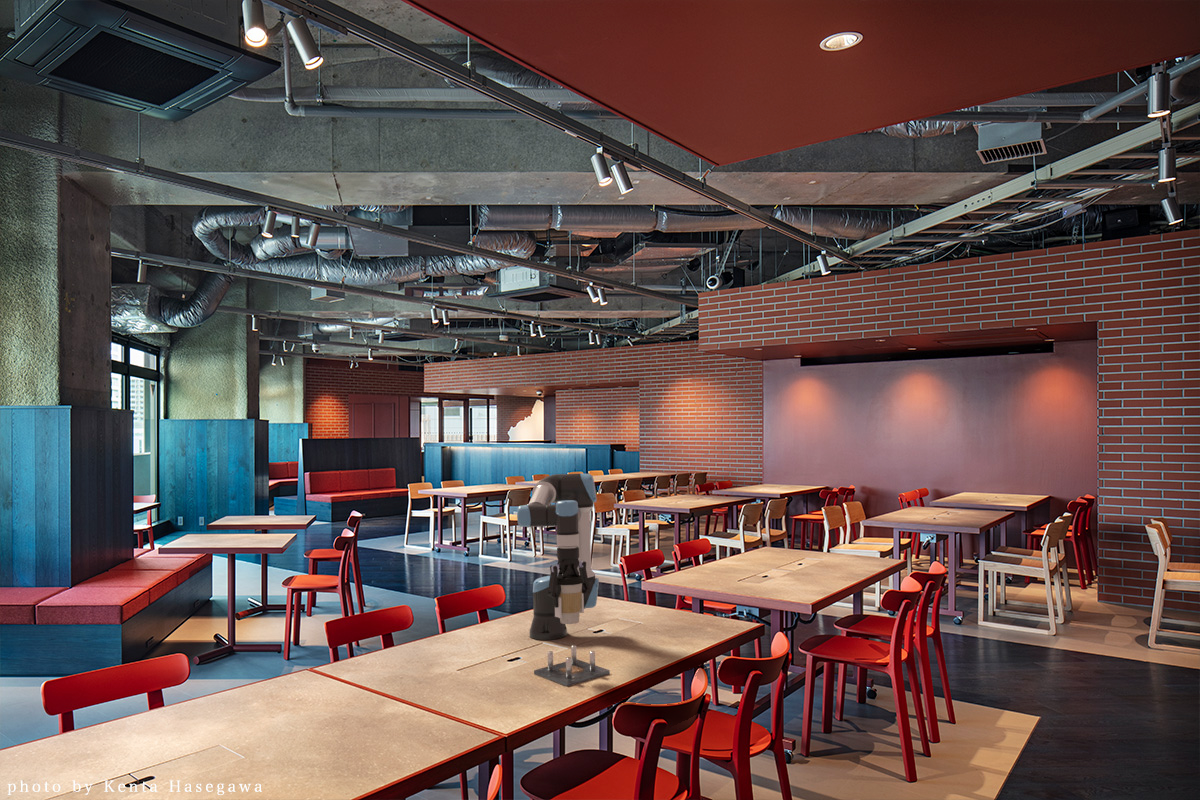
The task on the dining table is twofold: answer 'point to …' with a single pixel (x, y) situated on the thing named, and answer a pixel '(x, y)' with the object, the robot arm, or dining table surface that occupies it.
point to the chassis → (571, 669)
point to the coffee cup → (570, 598)
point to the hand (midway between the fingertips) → (569, 614)
